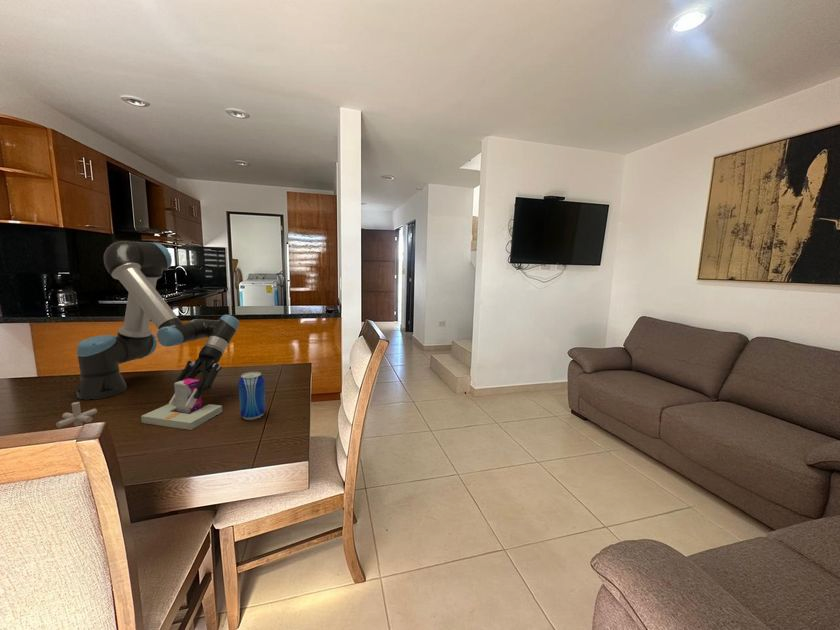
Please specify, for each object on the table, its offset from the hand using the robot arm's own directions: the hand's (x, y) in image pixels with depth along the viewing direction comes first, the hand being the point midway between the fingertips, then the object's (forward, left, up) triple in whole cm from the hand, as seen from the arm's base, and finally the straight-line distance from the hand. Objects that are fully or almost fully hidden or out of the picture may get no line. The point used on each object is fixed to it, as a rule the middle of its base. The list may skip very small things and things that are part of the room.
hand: (180, 405), depth 120 cm
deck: (-1, 0, -5) cm, 5 cm away
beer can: (0, +24, -5) cm, 25 cm away
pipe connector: (+7, -27, -5) cm, 28 cm away
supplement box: (-3, +1, -4) cm, 5 cm away
